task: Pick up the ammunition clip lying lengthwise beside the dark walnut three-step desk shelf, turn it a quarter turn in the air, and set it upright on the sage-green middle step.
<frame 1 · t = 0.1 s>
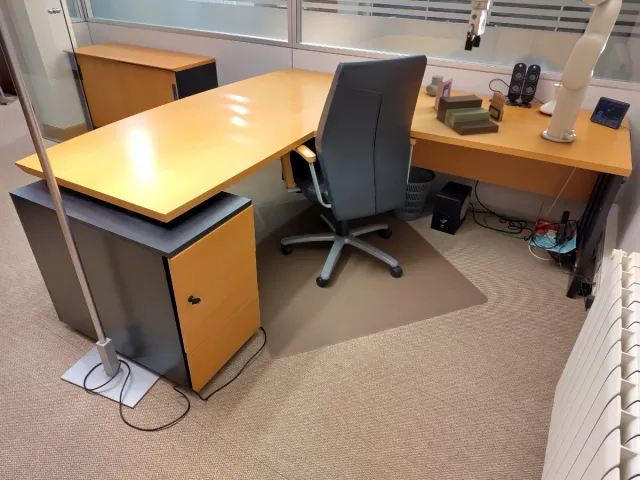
hand: (471, 48, 192), 31 cm above the table, tool pointing down, fingers open, 9 cm apart
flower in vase: (551, 113, 216), on the table
ammunition clip: (494, 118, 210), on the table
air freshener: (434, 95, 242), on the table
greeting card: (437, 109, 220), on the table
step shelf: (465, 124, 201), on the table
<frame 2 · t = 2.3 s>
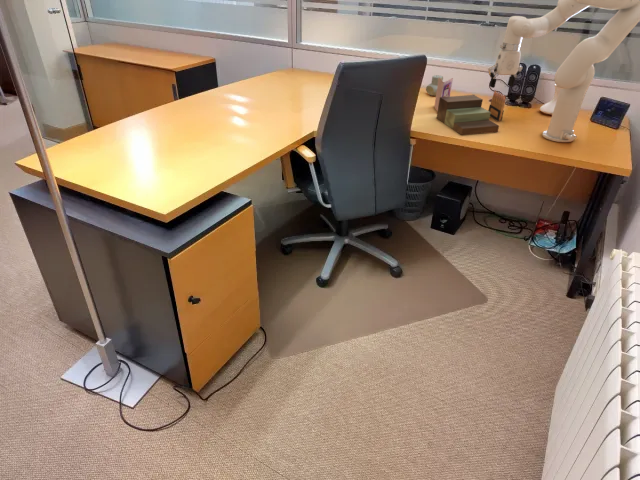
hand: (500, 86, 201), 15 cm above the table, tool pointing down, fingers open, 9 cm apart
nothing on the table moved.
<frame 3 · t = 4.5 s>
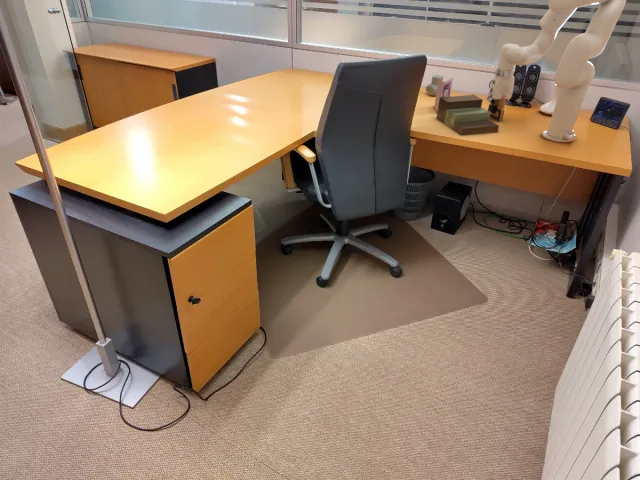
hand: (495, 112, 208), 3 cm above the table, tool pointing down, fingers closed on ammunition clip, 2 cm apart
ammunition clip: (494, 118, 210), on the table, touching gripper
everything else where it was.
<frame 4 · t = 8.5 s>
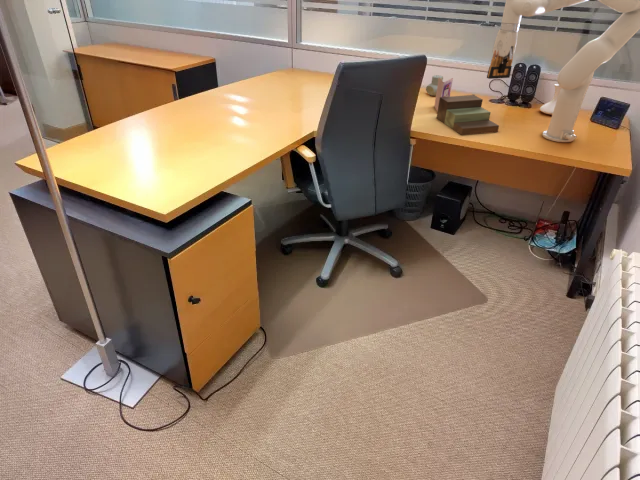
hand: (499, 71, 195), 22 cm above the table, tool pointing down, fingers closed on ammunition clip
ammunition clip: (497, 78, 196), point 19 cm above the table, touching gripper
everything else where it was.
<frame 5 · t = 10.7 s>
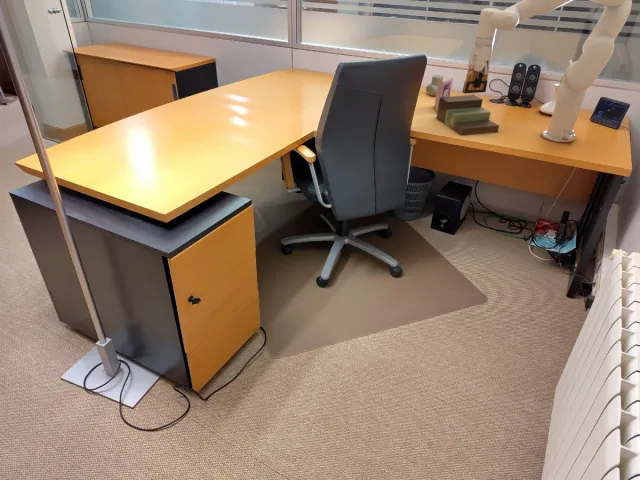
hand: (475, 86, 190), 18 cm above the table, tool pointing down, fingers closed on ammunition clip
ammunition clip: (473, 92, 192), point 15 cm above the table, touching gripper
everything else where it was.
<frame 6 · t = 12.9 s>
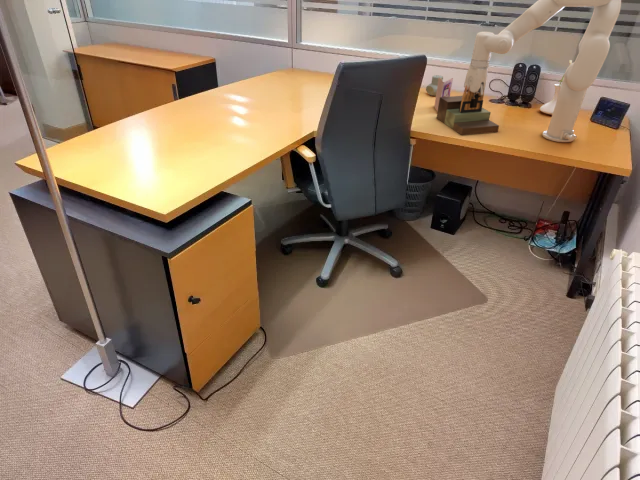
hand: (470, 106, 195), 9 cm above the table, tool pointing down, fingers closed
ammunition clip: (469, 112, 196), point 6 cm above the table, touching step shelf
everything else where it was.
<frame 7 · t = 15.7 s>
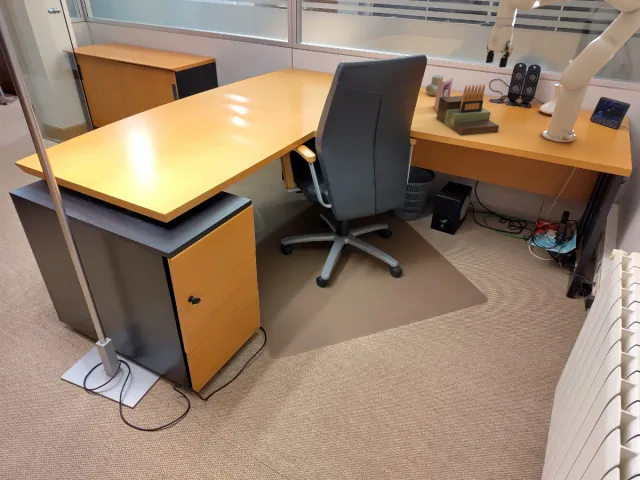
hand: (495, 65, 190), 26 cm above the table, tool pointing down, fingers open, 9 cm apart
nothing on the table moved.
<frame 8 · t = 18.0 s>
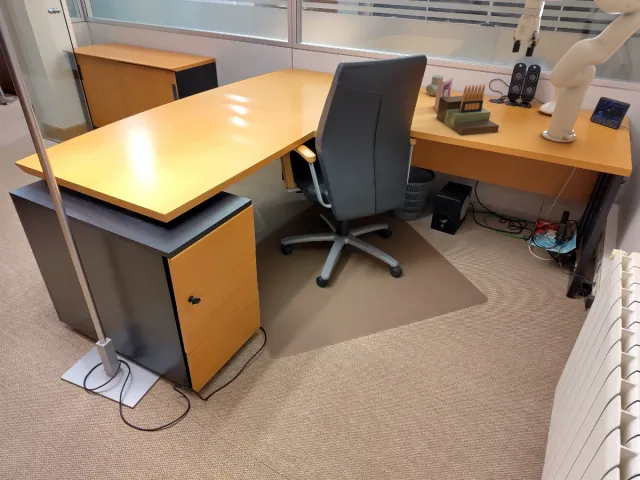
hand: (521, 54, 197), 28 cm above the table, tool pointing down, fingers open, 9 cm apart
nothing on the table moved.
at the end: ammunition clip inside the target area on the step shelf (1.0 cm from its centre), point 6.3 cm above the step shelf's base; ammunition clip tilted 0°; the gripper is holding nothing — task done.
